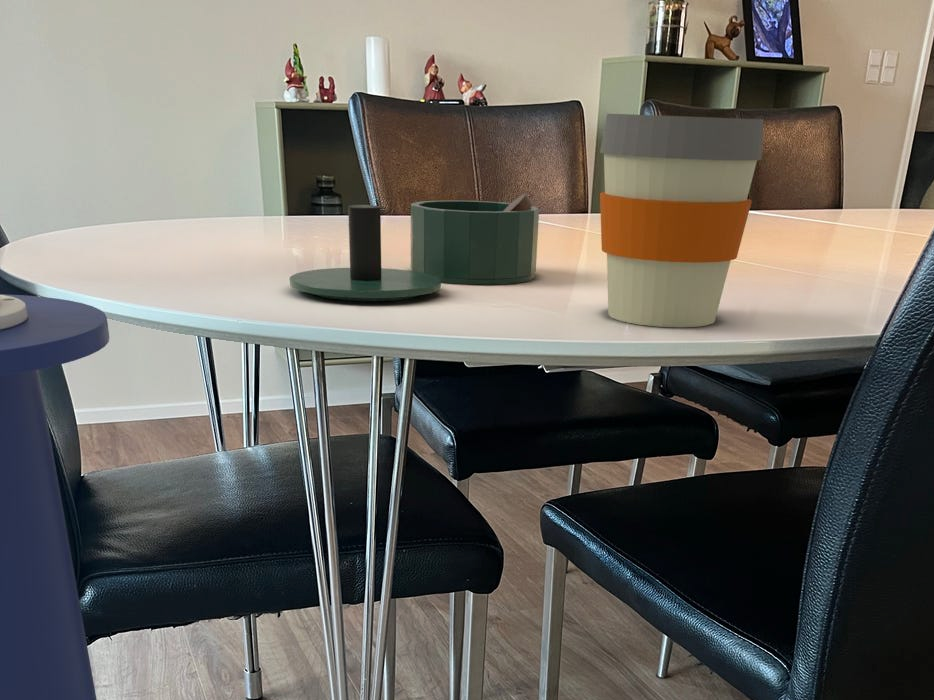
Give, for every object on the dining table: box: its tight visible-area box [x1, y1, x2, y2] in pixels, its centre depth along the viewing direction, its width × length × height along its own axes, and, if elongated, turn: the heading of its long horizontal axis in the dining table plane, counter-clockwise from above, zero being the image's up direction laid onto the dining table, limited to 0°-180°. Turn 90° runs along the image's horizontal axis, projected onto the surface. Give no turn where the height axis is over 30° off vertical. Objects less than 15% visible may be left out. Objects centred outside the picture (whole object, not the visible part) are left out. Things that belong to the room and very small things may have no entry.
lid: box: [289, 204, 442, 303], centre depth 89 cm, size 14×14×7 cm
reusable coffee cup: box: [599, 113, 764, 328], centre depth 80 cm, size 13×13×15 cm
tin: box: [410, 199, 540, 286], centre depth 100 cm, size 13×13×6 cm
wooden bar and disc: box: [504, 193, 534, 211], centre depth 101 cm, size 10×4×2 cm
